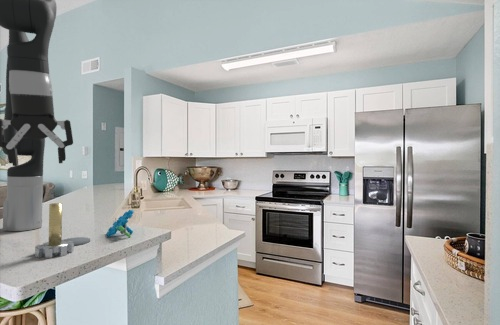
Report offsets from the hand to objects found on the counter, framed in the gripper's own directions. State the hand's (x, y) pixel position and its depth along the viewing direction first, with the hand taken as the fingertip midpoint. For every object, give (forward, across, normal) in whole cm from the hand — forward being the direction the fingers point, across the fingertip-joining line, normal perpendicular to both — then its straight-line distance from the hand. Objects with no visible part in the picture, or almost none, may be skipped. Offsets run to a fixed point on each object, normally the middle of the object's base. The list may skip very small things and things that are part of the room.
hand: (38, 164), depth 65 cm
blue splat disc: (+25, -18, -7) cm, 31 cm away
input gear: (+22, -2, +3) cm, 22 cm away
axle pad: (+24, -6, -5) cm, 25 cm away
